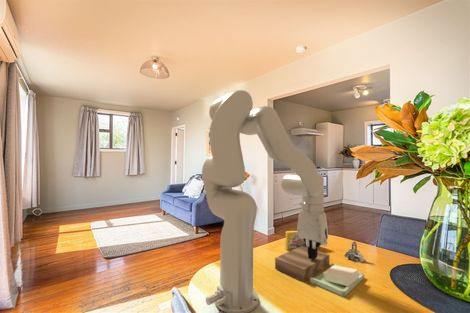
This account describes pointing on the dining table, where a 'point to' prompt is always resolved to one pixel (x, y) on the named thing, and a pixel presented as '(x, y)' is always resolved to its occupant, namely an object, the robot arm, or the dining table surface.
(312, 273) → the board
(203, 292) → the dining table surface
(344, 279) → the tile
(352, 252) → the house of cards
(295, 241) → the candy box
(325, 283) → the tray
